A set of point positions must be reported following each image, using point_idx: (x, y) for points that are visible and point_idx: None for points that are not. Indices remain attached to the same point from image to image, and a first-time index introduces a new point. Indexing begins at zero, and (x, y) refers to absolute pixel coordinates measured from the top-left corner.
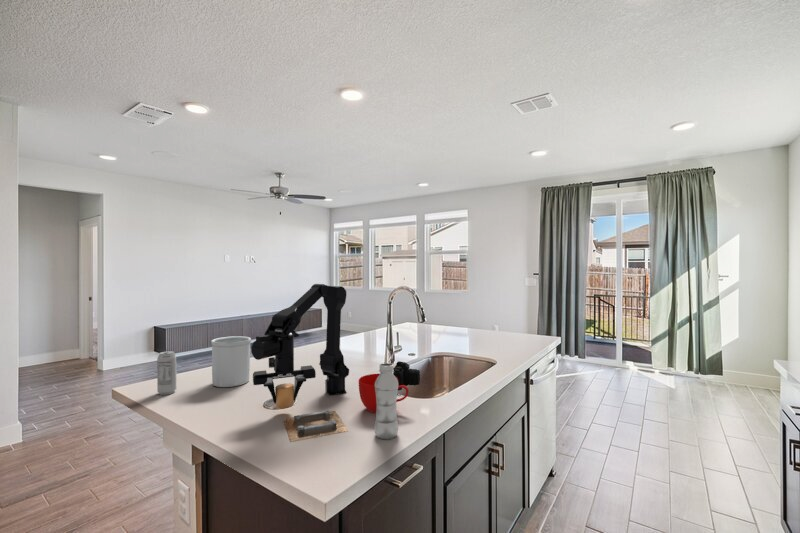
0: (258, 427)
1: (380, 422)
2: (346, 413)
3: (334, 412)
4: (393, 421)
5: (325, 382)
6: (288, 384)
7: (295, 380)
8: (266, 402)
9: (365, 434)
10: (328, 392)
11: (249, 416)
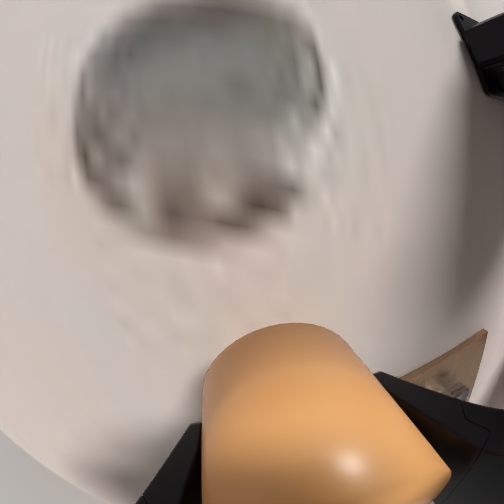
0: (159, 459)
1: None
2: (498, 338)
3: (480, 350)
4: None
5: (495, 21)
6: (405, 496)
7: (494, 495)
8: (94, 78)
9: None
10: (481, 66)
11: (49, 335)
